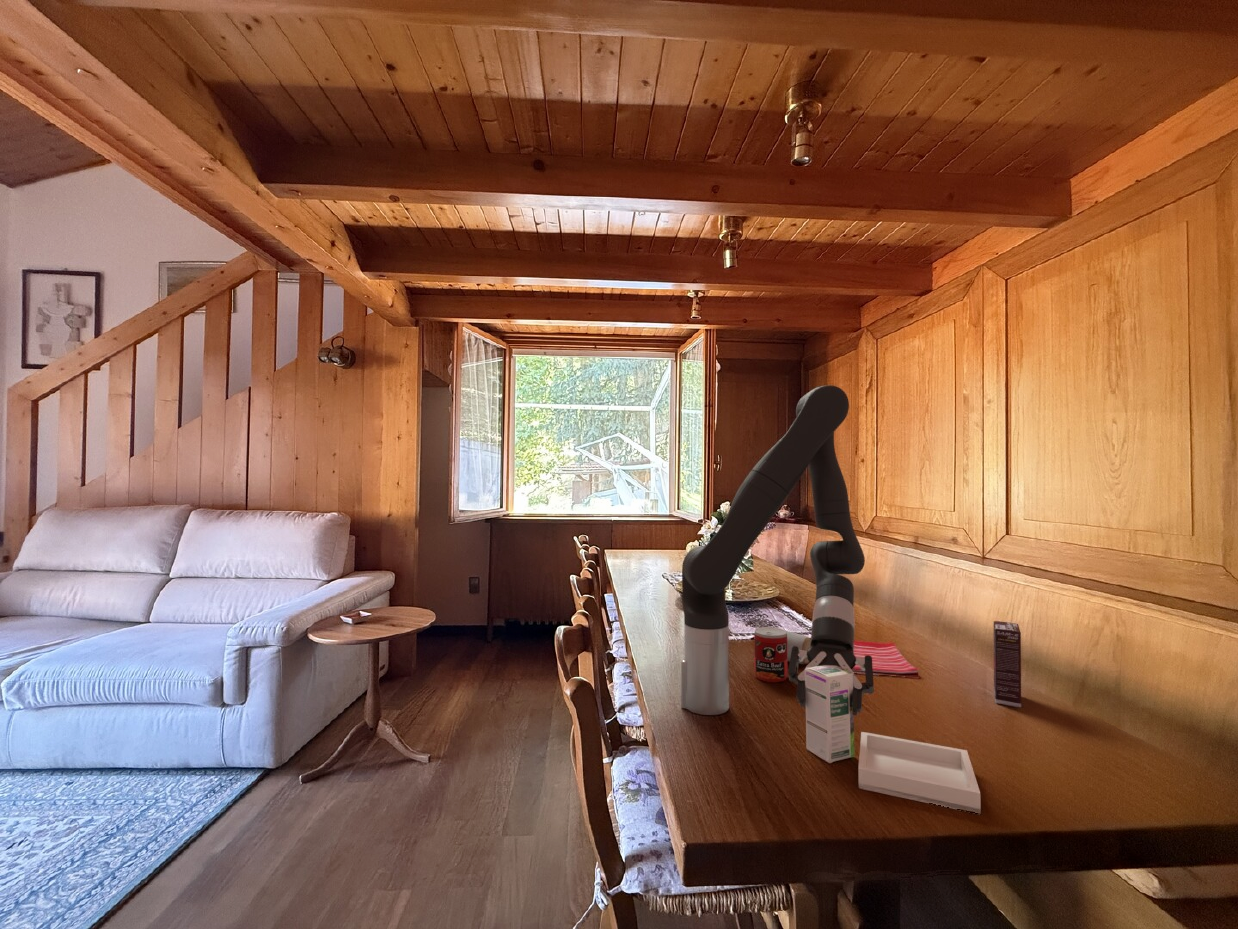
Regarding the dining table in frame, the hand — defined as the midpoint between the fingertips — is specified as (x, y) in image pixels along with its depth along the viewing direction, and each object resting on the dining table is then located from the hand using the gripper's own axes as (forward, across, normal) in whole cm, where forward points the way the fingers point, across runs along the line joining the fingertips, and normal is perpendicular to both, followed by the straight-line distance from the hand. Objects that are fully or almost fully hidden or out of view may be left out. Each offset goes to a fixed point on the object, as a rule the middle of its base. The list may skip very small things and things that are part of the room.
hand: (828, 709), depth 96 cm
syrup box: (+5, 0, +7) cm, 9 cm away
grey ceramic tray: (+7, +13, +5) cm, 15 cm away
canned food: (-19, -16, +31) cm, 40 cm away
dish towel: (-36, +6, +49) cm, 61 cm away
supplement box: (-25, +33, +37) cm, 56 cm away
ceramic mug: (-30, -13, +42) cm, 54 cm away
